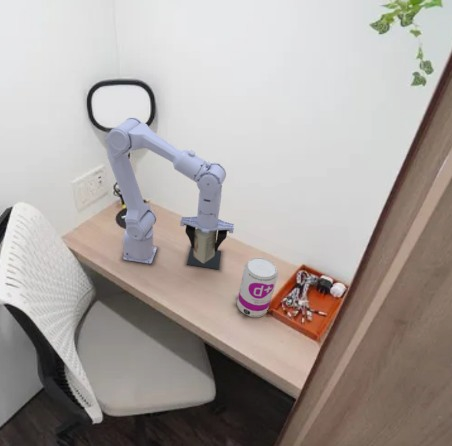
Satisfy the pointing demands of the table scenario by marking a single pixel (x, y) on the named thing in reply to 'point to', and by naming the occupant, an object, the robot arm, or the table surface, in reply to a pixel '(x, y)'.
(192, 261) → the pad
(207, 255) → the product carton box
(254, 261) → the supplement can
